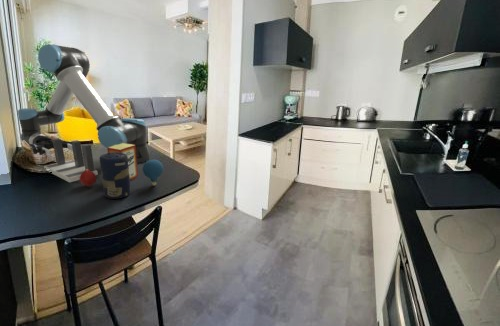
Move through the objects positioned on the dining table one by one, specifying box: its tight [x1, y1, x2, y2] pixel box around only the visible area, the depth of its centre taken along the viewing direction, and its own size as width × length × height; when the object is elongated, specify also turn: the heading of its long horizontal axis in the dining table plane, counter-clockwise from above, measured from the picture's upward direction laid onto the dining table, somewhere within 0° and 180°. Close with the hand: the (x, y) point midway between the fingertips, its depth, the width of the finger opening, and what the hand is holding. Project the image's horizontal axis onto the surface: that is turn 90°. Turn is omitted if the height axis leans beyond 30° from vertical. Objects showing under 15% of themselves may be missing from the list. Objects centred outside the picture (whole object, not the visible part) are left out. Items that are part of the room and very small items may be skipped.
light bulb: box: [142, 158, 164, 186], centre depth 109 cm, size 8×8×12 cm
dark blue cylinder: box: [99, 152, 131, 200], centre depth 97 cm, size 10×10×18 cm
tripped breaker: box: [51, 137, 66, 164], centre depth 119 cm, size 3×2×12 cm
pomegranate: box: [79, 169, 97, 188], centre depth 104 cm, size 6×6×8 cm
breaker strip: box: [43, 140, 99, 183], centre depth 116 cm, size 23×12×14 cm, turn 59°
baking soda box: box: [106, 143, 139, 181], centre depth 113 cm, size 10×6×16 cm
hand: (63, 151), depth 117 cm, fingers open, 10 cm apart
